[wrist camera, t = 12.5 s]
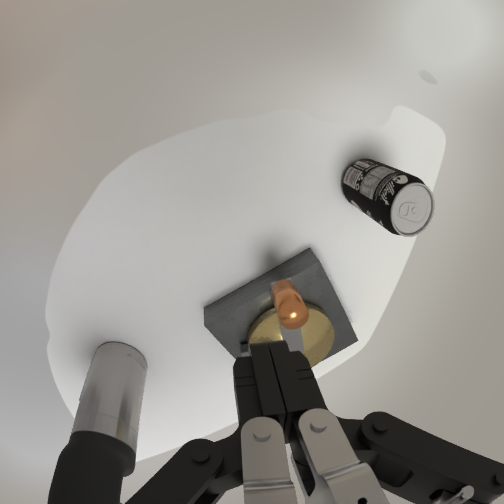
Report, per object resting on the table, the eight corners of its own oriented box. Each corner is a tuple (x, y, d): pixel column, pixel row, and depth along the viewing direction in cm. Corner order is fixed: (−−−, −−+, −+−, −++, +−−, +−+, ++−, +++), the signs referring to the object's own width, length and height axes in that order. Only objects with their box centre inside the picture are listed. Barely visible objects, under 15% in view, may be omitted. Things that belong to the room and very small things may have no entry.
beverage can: (381, 204, 40) (433, 237, 29) (339, 207, 39) (385, 244, 28) (383, 158, 37) (440, 179, 26) (340, 158, 36) (390, 179, 25)
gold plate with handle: (331, 353, 45) (349, 390, 38) (250, 375, 44) (258, 416, 37) (323, 255, 37) (349, 290, 30) (219, 282, 36) (223, 324, 29)
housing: (261, 372, 50) (265, 390, 46) (204, 308, 43) (204, 326, 39) (349, 325, 48) (358, 341, 45) (309, 247, 41) (319, 261, 37)
